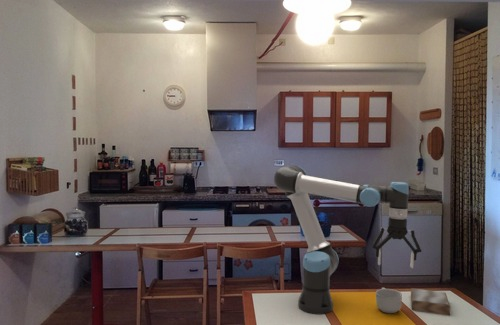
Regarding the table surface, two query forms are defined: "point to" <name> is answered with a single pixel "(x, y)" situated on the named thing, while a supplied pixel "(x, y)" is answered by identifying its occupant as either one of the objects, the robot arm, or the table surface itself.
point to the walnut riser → (430, 301)
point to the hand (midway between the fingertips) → (395, 265)
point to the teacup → (388, 300)
